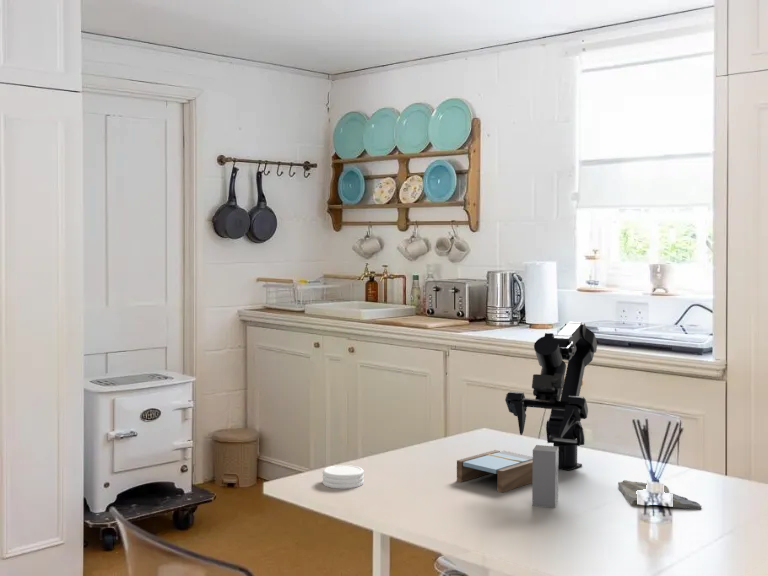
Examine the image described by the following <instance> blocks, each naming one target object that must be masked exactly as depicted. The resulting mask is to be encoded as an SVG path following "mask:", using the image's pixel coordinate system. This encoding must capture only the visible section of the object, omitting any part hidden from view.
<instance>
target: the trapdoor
mask: <svg viewBox="0 0 768 576" xmlns="http://www.w3.org/2000/svg"><path fill="white" fill-rule="evenodd" d="M530 460H533V456H530V455H528V454H527V455H525V454H521V453H517V452H513V451H512V452H511V451H506V450H500V452H497V453H494V454H488V455H486V456H483V457H479V458H476V459H472V460H468V461H465V462H463V466H465V467H469V468H474V469H478V470H482V471H486V472H490V474H495V475H497V472H498V470H499V469H503V468H506V467H509V466H513V465H516V464H520V463H523V462H526V461H530Z"/></svg>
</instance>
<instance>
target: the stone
mask: <svg viewBox="0 0 768 576" xmlns="http://www.w3.org/2000/svg"><path fill="white" fill-rule="evenodd" d="M532 457H533V476H532V483H531V484H532V486H531V489H532V490H531V494H532V495H531V496H532V498H531V499H532V500H531V502H532V503H531V504H532V506H534V507H539V508H540V507H541V508H542V507H543V508H552V509H553V508H554V509H555V508H556V506H557V504H558V502H559V468H558V458H559V447H557V446H553V445H540V444H536V445H535V446H534V448H533V449H532Z"/></svg>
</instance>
